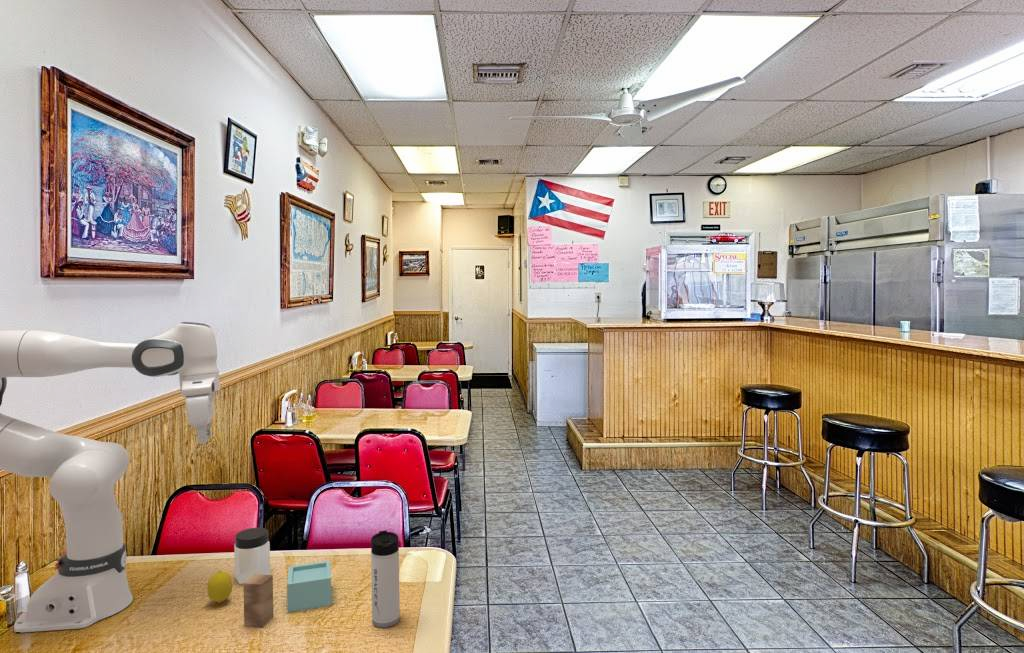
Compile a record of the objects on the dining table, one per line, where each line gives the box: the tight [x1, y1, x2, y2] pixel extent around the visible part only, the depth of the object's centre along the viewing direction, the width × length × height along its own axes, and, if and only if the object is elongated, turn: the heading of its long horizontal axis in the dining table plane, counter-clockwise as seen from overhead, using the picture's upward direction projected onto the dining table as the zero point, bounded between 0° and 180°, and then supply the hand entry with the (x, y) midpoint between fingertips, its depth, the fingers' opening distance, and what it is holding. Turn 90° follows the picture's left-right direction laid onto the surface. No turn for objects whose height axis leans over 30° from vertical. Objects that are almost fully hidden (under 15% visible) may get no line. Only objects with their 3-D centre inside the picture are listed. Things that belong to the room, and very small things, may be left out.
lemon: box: [206, 570, 233, 604], centre depth 140 cm, size 6×6×8 cm
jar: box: [233, 527, 271, 585], centre depth 153 cm, size 9×8×12 cm
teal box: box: [286, 560, 332, 613], centre depth 142 cm, size 10×10×7 cm
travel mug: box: [370, 530, 401, 629], centre depth 132 cm, size 6×7×20 cm
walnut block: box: [242, 574, 275, 629], centre depth 132 cm, size 4×4×10 cm
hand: (205, 440), depth 143 cm, fingers open, 8 cm apart
